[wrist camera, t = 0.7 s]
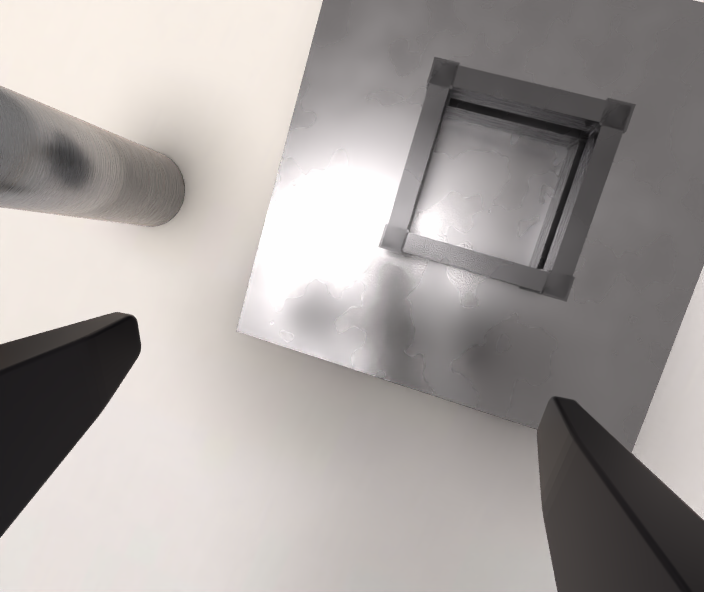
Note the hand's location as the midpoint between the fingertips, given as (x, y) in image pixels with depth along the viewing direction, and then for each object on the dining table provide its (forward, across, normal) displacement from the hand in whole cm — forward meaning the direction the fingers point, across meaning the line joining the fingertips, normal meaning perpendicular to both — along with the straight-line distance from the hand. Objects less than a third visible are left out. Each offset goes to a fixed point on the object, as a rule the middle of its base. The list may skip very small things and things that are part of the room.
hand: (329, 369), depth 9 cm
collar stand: (+15, -4, -1) cm, 15 cm away
